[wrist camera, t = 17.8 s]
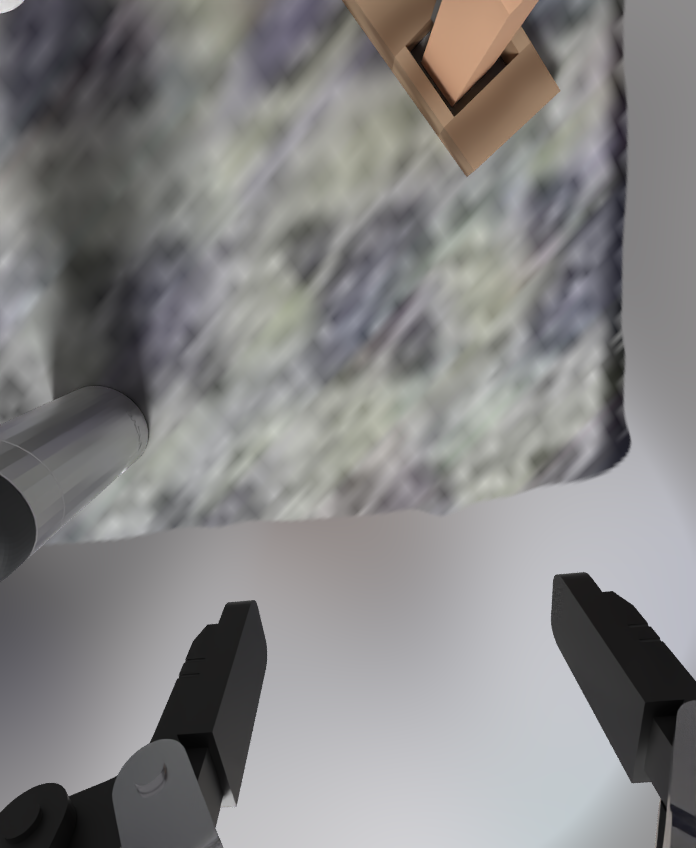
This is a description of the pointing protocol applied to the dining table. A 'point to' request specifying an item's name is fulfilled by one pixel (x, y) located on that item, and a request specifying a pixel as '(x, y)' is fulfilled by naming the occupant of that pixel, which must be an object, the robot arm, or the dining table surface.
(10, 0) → the teacup and saucer
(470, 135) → the rail
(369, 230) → the dining table surface
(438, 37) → the tall tan pillar block
